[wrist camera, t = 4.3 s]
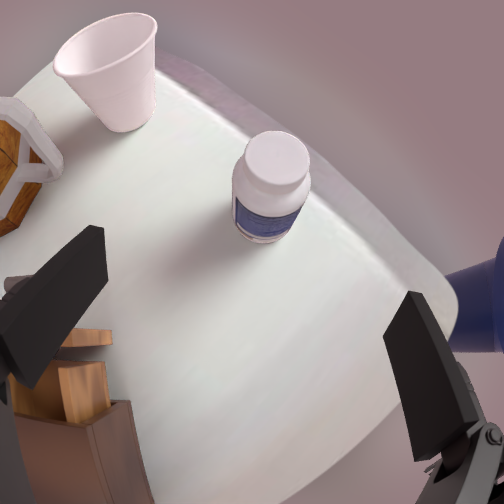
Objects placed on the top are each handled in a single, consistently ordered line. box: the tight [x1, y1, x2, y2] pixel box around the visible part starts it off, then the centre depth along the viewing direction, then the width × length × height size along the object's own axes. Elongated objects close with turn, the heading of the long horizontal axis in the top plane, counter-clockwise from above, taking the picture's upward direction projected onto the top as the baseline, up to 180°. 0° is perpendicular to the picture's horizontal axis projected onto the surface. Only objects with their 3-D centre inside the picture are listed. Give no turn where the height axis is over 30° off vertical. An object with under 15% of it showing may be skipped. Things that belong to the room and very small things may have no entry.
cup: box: [53, 13, 157, 132], centre depth 24 cm, size 10×10×11 cm
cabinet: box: [14, 400, 154, 504], centre depth 15 cm, size 14×12×9 cm
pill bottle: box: [232, 131, 311, 243], centre depth 22 cm, size 5×5×10 cm
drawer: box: [4, 275, 113, 424], centre depth 17 cm, size 17×11×7 cm, turn 7°
